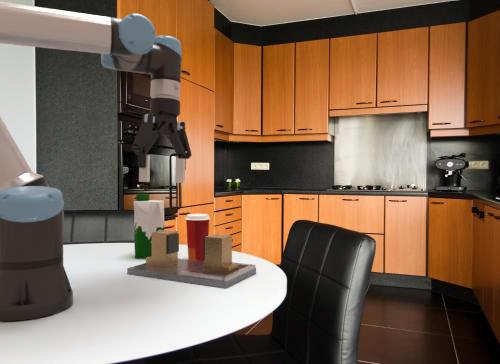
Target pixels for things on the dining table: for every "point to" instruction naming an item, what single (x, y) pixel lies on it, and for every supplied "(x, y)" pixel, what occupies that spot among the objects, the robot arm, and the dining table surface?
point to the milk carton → (146, 223)
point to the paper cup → (196, 235)
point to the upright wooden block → (219, 255)
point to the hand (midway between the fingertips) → (163, 182)
